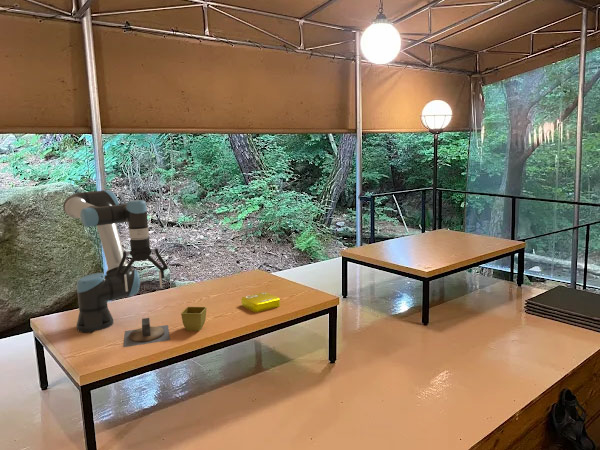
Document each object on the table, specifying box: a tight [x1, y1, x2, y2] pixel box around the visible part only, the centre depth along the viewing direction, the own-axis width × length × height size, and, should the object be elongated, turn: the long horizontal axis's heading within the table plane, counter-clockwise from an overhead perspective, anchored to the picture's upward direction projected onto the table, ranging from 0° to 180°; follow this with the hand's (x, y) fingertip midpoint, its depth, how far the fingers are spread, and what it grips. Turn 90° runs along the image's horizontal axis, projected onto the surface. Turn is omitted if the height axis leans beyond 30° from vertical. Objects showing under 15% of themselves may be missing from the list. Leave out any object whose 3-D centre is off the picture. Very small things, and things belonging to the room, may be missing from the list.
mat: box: [122, 324, 171, 348], centre depth 200 cm, size 18×18×1 cm
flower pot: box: [180, 306, 207, 332], centre depth 205 cm, size 9×9×9 cm
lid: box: [129, 317, 164, 342], centre depth 199 cm, size 14×14×6 cm
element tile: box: [240, 291, 281, 313], centre depth 234 cm, size 15×15×5 cm
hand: (144, 288), depth 197 cm, fingers open, 13 cm apart
